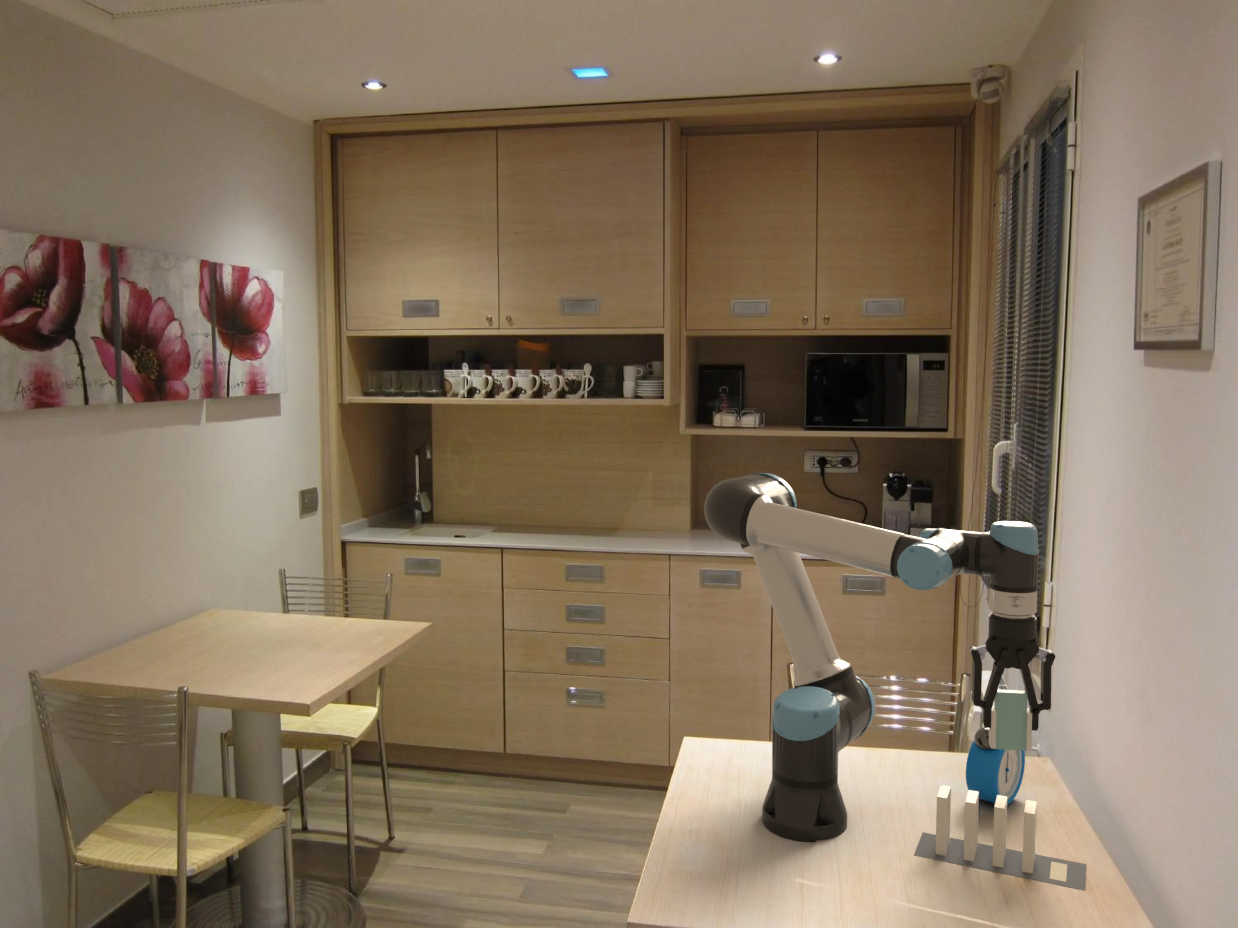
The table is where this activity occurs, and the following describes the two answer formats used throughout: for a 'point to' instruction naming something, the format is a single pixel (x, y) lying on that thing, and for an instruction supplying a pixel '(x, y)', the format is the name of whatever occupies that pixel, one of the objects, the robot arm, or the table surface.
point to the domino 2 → (971, 825)
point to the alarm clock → (993, 769)
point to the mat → (1008, 862)
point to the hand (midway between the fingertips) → (1009, 746)
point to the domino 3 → (999, 831)
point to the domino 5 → (1029, 836)
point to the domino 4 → (1011, 719)
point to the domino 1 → (943, 820)
